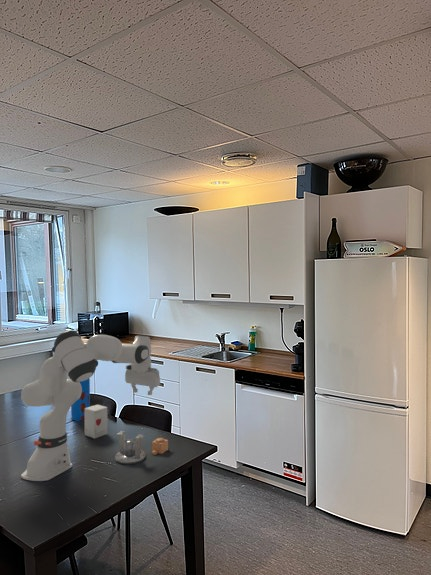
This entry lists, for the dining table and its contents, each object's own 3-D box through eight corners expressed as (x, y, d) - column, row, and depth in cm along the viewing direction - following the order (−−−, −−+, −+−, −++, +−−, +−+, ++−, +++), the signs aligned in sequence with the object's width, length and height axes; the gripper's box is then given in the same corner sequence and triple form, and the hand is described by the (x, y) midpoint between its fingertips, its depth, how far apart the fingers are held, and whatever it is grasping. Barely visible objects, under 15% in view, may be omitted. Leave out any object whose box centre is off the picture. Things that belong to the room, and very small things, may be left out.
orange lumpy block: (171, 447, 214) (170, 436, 214) (158, 456, 204) (158, 444, 204) (161, 445, 216) (161, 435, 216) (148, 454, 207) (148, 442, 207)
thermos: (70, 416, 263) (70, 376, 262) (88, 414, 267) (88, 374, 267) (72, 422, 253) (72, 380, 252) (91, 419, 258) (90, 378, 257)
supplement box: (94, 439, 226) (94, 411, 226) (84, 435, 232) (83, 408, 231) (108, 434, 233) (107, 406, 233) (97, 430, 239) (97, 404, 239)
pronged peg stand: (137, 465, 194) (137, 441, 193) (109, 462, 197) (109, 438, 197) (149, 453, 207) (149, 430, 207) (123, 450, 211) (122, 428, 210)
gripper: (162, 367, 215) (162, 394, 216) (131, 363, 225) (131, 389, 225) (155, 369, 210) (155, 397, 210) (123, 365, 220) (123, 392, 220)
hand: (142, 393), depth 218 cm, fingers open, 8 cm apart
